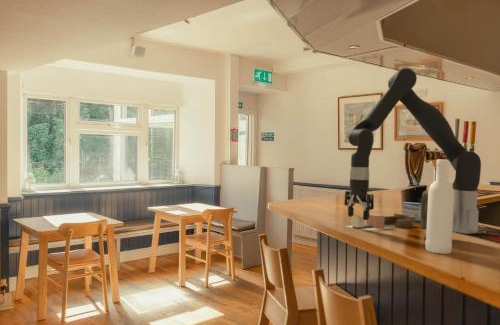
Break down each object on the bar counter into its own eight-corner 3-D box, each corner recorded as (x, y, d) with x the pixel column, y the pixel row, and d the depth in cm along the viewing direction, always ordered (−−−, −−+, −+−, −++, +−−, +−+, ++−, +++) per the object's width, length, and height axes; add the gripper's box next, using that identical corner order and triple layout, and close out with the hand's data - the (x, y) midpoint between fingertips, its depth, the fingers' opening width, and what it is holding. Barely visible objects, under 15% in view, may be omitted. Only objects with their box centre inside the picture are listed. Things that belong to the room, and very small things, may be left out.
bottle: (422, 251, 137) (427, 159, 136) (427, 246, 144) (432, 158, 143) (449, 255, 133) (454, 160, 132) (453, 250, 139) (458, 160, 138)
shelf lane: (416, 227, 181) (416, 217, 180) (363, 232, 166) (364, 220, 166) (396, 222, 190) (396, 213, 190) (344, 226, 176) (345, 216, 176)
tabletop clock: (427, 234, 166) (430, 170, 165) (452, 237, 161) (455, 172, 160) (419, 240, 154) (422, 172, 153) (446, 244, 149) (450, 173, 148)
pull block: (384, 227, 176) (384, 215, 175) (358, 229, 169) (359, 217, 169) (375, 225, 180) (375, 213, 180) (350, 227, 173) (350, 215, 173)
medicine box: (401, 220, 197) (402, 202, 197) (403, 219, 201) (403, 201, 201) (419, 222, 193) (420, 203, 193) (420, 221, 197) (421, 202, 197)
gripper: (379, 179, 166) (377, 220, 167) (354, 176, 179) (352, 215, 179) (365, 179, 163) (363, 221, 163) (340, 177, 175) (339, 216, 176)
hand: (358, 218), depth 171 cm, fingers open, 8 cm apart
